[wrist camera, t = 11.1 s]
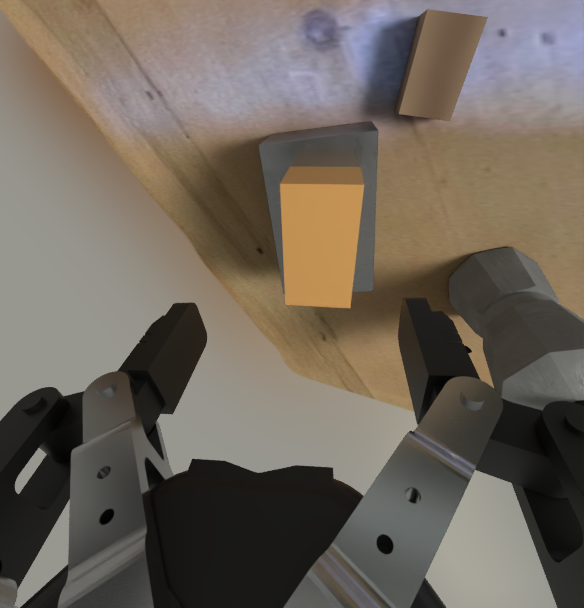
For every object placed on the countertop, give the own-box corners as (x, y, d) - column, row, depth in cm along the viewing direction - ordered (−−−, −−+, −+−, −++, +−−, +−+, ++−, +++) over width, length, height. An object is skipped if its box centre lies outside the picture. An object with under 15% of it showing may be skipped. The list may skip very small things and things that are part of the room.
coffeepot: (542, 215, 30) (732, 344, 15) (569, 282, 33) (743, 437, 19) (397, 291, 37) (433, 428, 22) (432, 339, 40) (484, 483, 26)
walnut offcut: (393, 110, 26) (398, 113, 24) (418, 16, 23) (427, 9, 20) (439, 117, 26) (449, 121, 24) (472, 23, 23) (487, 17, 20)
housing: (289, 166, 24) (279, 183, 20) (360, 166, 24) (364, 184, 20) (292, 274, 30) (285, 304, 26) (348, 277, 30) (350, 308, 26)
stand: (291, 265, 37) (283, 294, 32) (272, 134, 28) (258, 145, 24) (368, 262, 35) (372, 291, 30) (371, 121, 27) (378, 130, 22)
